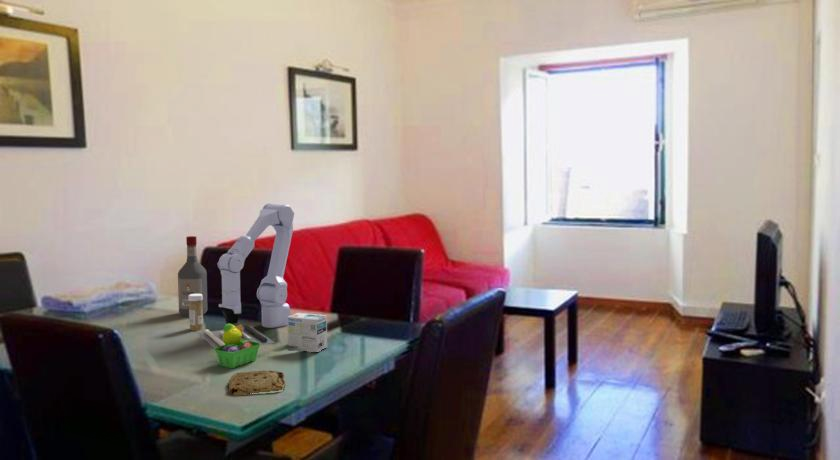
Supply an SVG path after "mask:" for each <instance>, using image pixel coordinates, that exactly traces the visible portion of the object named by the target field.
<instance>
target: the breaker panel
mask: <svg viewBox="0 0 840 460" xmlns="http://www.w3.org/2000/svg"><path fill="white" fill-rule="evenodd" d="M248 326H249V325H248ZM249 327H251V328H252V329H254V330H255V331H257V332H258V333H260V334H261V335H263V336H264V337H266V338H267V339H268V340H267V342H263V341H262V340H261V339H259V338H258V337H256V336H255V335H253V334H252V333H251V332H249V331H248V330H246V329H245V328H244V326H242V338H241V340H248V341H253V342H257V343H260V346H264V345H268V344H270V345H271V344H275V343H276V342H275V341H273V340H272V339H271V338H269V337H268V336H266V335H265V334H263V333H262V332H260V331H259V330H257V329H256V328H254V327H253V326H249ZM223 330H224V329H220V330H212V331H210V332H212V333H213V334H214V335H215V336H216V337H218V338H219V339H220V340H221V341H222V342H223V338H222V337H223ZM197 334H198V335H199V336H200V337H201V338H202V339H203V340H205V342H207V343H208V344H209V345H210V346H211V347H212V348H213V350H214V349H215V348H217V347H220V345H218V344H217V343H216V342H215V341H214V340H213V339H212V338H210V337H209V336H208V335H207V334H206V333H205V331H204V332H198V333H197ZM223 343H224V342H223Z"/></svg>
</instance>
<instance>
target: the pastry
mask: <svg viewBox="0 0 840 460" xmlns="http://www.w3.org/2000/svg"><path fill="white" fill-rule="evenodd" d="M228 383H229V387H228V394H230V396H233V397H235V396H237V397H239V395H240V396H246V395H245V394H250V393H251V394H252V393H259V392H270V391H279V390H282V389H283V388H284V386H285V387H286V382H285V375H284V372H282V371H276V370H253V371H252V370H251V371H241V372H236V373H235V374H233V375H232V376H231V377H230V379H229V380H228Z"/></svg>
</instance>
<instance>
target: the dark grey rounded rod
mask: <svg viewBox="0 0 840 460" xmlns="http://www.w3.org/2000/svg"><path fill="white" fill-rule="evenodd" d="M243 327H244V328H245V329H246V330H248V331H249V332H251V333H252V334H253V335H255V336H256V337H258V338H259V339H261V340H262V341H263V342H267V340H268V339H267V338H266V337H267V336H266V337H264V336H263V335H264V334H263V335H261V334H260V333H261V332H260V333H258V332H257V331H258V330H257V331H255V330H254V329H255V328H254V329H252V328H251V327H252V326H251V327H249V325H248V324H244V325H243Z"/></svg>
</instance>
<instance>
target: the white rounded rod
mask: <svg viewBox="0 0 840 460" xmlns="http://www.w3.org/2000/svg"><path fill="white" fill-rule="evenodd" d="M204 332H205V333H206V334H207V335H208V336H209V337H210V338H212V339H213V340H214V341H215V342H216V343H217V344H218V345H220V346H223V345H225V343H223V342H222V341H221V340H220V339H219V338H218V337H216V336H215V335H214V334H213V333H212V332H211V331H210V329H205V330H204Z"/></svg>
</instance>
